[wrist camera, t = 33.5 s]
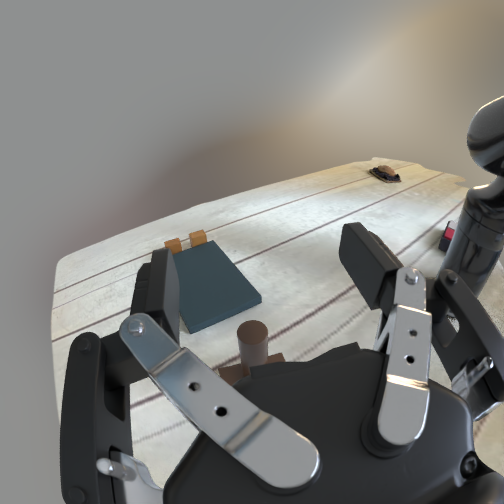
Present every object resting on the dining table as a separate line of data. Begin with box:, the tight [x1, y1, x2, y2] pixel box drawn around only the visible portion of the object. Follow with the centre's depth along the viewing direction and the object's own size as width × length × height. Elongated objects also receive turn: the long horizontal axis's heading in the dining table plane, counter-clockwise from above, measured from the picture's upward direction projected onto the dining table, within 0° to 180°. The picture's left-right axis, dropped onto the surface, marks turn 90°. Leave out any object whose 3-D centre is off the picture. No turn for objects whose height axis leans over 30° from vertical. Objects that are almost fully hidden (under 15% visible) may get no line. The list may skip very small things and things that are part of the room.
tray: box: [172, 240, 262, 334], centre depth 46 cm, size 12×18×2 cm, turn 30°
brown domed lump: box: [370, 166, 401, 183], centre depth 83 cm, size 11×8×4 cm
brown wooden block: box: [189, 230, 207, 248], centre depth 54 cm, size 3×3×2 cm
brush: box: [218, 320, 286, 386], centre depth 27 cm, size 8×4×12 cm, turn 106°
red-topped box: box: [439, 220, 491, 275], centre depth 48 cm, size 11×4×15 cm
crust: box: [164, 238, 182, 255], centre depth 52 cm, size 3×3×2 cm
